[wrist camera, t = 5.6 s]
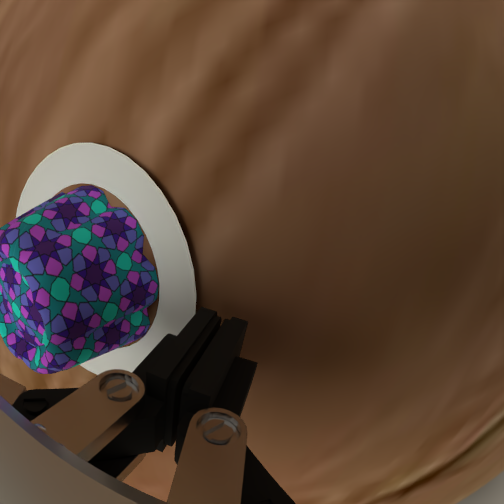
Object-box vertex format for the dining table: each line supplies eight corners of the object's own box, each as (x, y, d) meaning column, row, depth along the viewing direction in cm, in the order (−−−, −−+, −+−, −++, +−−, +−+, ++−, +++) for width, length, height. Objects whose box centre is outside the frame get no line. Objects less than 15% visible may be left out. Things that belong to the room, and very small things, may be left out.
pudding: (126, 403, 15) (80, 460, 10) (8, 263, 15) (-51, 287, 10) (265, 278, 11) (225, 356, 6) (79, 96, 11) (-8, 81, 6)
